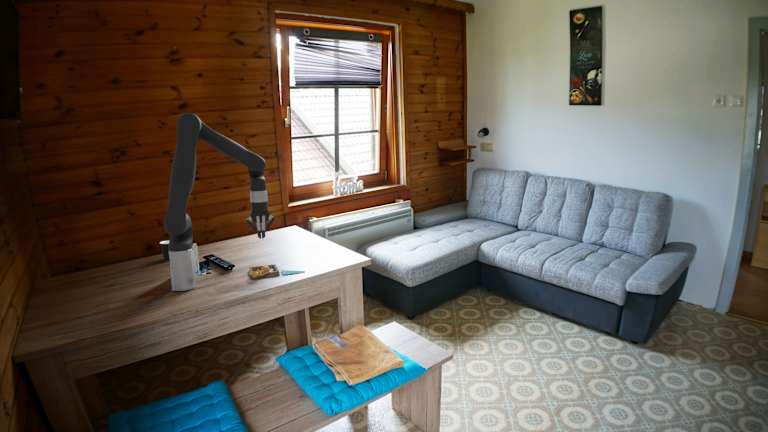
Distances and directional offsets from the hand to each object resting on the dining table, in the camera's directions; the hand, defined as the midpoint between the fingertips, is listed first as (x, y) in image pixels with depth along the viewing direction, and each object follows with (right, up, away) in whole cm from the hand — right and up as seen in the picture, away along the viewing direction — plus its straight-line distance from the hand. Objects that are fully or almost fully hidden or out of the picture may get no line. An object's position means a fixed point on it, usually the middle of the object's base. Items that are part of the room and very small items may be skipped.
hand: (261, 238), depth 200 cm
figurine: (+2, -16, +2) cm, 16 cm away
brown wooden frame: (+1, -16, +2) cm, 17 cm away
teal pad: (+13, -16, +5) cm, 21 cm away
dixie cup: (-57, -14, +30) cm, 66 cm away
